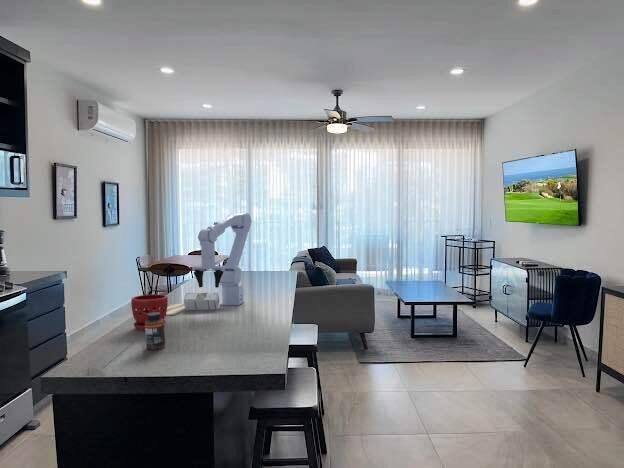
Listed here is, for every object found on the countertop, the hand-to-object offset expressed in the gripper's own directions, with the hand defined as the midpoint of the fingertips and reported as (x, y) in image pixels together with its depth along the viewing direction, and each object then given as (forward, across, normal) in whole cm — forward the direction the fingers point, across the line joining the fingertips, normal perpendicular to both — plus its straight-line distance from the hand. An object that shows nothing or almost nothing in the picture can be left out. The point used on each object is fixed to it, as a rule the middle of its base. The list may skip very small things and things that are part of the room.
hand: (208, 287), depth 200 cm
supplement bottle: (+12, +5, -51) cm, 53 cm away
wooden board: (+11, -18, 0) cm, 21 cm away
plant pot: (+12, -12, -27) cm, 32 cm away
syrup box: (+7, -12, +1) cm, 14 cm away
